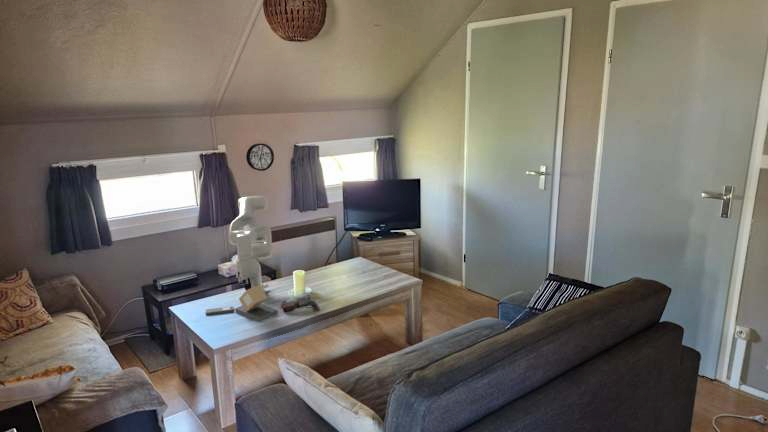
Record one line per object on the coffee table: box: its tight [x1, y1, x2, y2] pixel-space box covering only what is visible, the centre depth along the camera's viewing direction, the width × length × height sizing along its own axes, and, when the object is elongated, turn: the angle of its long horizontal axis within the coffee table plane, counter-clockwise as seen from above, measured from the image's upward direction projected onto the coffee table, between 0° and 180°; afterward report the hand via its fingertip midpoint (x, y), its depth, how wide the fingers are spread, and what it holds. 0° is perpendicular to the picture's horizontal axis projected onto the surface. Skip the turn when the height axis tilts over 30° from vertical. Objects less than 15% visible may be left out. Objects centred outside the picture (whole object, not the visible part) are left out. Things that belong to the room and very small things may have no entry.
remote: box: [205, 306, 235, 316], centre depth 263 cm, size 14×4×2 cm, turn 104°
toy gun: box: [280, 295, 321, 313], centre depth 262 cm, size 4×20×10 cm, turn 95°
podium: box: [234, 303, 279, 323], centre depth 261 cm, size 12×20×2 cm, turn 53°
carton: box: [238, 285, 268, 312], centre depth 258 cm, size 8×8×11 cm
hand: (248, 290), depth 258 cm, fingers closed
